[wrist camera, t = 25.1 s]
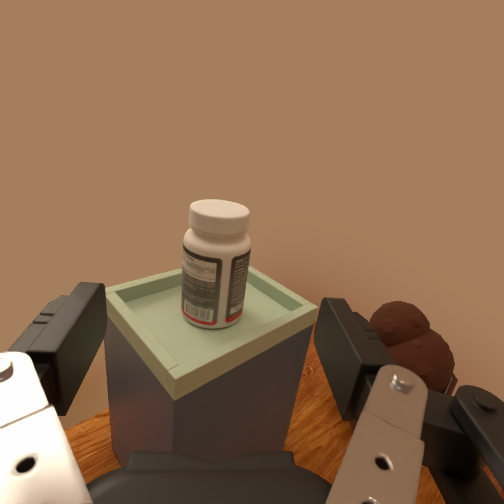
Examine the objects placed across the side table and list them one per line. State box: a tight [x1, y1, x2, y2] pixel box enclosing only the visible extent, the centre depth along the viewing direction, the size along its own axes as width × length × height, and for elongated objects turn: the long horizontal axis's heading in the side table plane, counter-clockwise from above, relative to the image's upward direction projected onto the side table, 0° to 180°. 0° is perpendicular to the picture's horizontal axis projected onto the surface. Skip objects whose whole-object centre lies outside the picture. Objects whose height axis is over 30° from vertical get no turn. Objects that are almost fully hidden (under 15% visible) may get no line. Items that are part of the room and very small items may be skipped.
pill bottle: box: [181, 199, 251, 329], centre depth 24 cm, size 5×5×8 cm
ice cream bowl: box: [350, 301, 458, 430], centre depth 34 cm, size 11×11×15 cm
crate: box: [104, 315, 314, 467], centre depth 29 cm, size 13×11×16 cm
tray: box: [105, 266, 318, 401], centre depth 25 cm, size 13×11×2 cm
